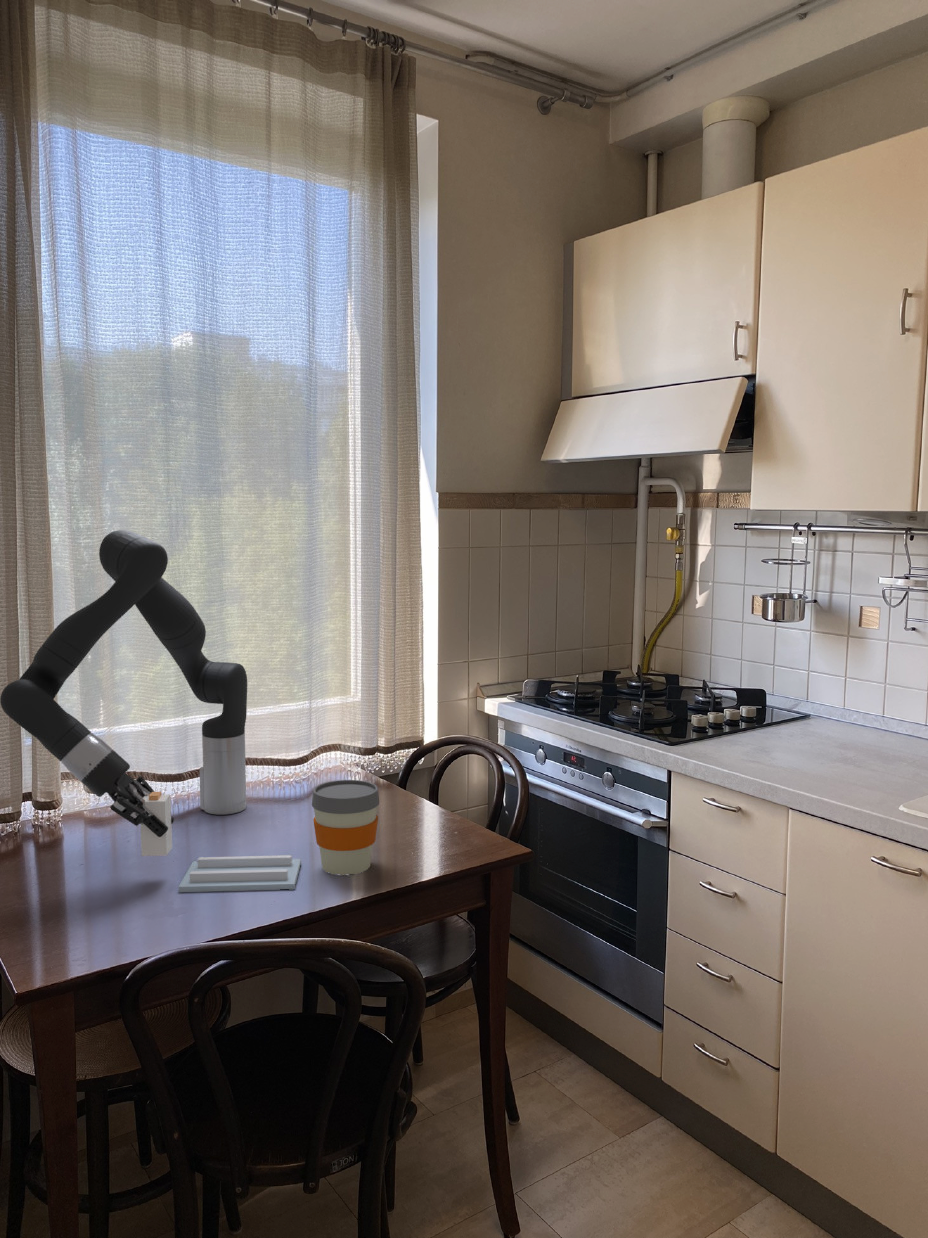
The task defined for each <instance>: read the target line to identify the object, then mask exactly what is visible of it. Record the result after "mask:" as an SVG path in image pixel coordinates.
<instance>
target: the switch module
mask: <svg viewBox="0 0 928 1238" xmlns="http://www.w3.org/2000/svg"><path fill="white" fill-rule="evenodd" d="M143 799H144V800H145V806H146V807H147V808H148V809H149V810H150V811H151V812H152V814H153V815H155V816H156V817H157V818H158V819H159V820H160V821H162V822H163V823H164V824H165V825H166V826H167V827H168V830H167V832H166V833H165V834H164V835H163V836H162V837H158V836H157V835H156V834H154V833H153V832H152V831H151V830H150V829H149V828H148V827H147V826H145V825H144V824H143V825H141V824H139V825H140V845H141V847H140V848H141V849H140V850H141V857H158V856H159V857H160V856H161V857H162V856H163V857H164V856H165V857H166V856H168V855H169V853H170V851H171V850H172V849H173V835H172V834H173V830H172V828H173V827H172V824H171V816H172V805H171V804H172V803H171V801H172V800H171V794H170V793H169V794H165V793H164V794H162V791H155V792H152V793H151V794H150V795H148V796H144V797H143ZM141 810H142V809H141ZM153 815H152V816H153Z"/></svg>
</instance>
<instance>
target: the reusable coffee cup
mask: <svg viewBox="0 0 928 1238" xmlns="http://www.w3.org/2000/svg"><path fill="white" fill-rule="evenodd" d="M311 801H312V802H311V806H312V808H313V810H314V811H313V812H314V817H313V819H312V821H313V826H314V827H313V829H314V834H315V840H316V841H315V842H316V844H317V845H318V847H319V853H320V860H321V861H320V862H321V868H322V870H323V871H324V870H325V871H324V872H325V873H327V872H329V873H331V874H330V875H333V874H340V875H339V876H341V875H346V874H355V875H357V874H356V873H359V874H361V873H360V872H362V873H364V872H363V871H365V870H367V869H368V868H369V867H371V861H372V851H373V845H374V844H375V842H376V839H377V838H376V837H377V829H378V822H379V816H378V815H377V811H378V806H379V805H380V795H379V787H378V785H376V784H375V783H372V782H370V781H366V780H358V779H339V780H333V781H332V780H330V781H327V782H322V783H320V784H318V785H316V786H315V787H313V790H312V799H311ZM369 869H370V868H369ZM369 869H368V870H369ZM368 870H367V871H368ZM365 872H366V871H365ZM329 873H328V874H329Z"/></svg>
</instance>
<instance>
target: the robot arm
mask: <svg viewBox="0 0 928 1238" xmlns="http://www.w3.org/2000/svg"><path fill="white" fill-rule="evenodd" d="M98 550H99V551H98V552H99V553H98V554H99V555H98V556H99V562H100V565H101V567H102V568H103V570H104V572H105V573H106V574H107V575H109V577H110V578H111V579H112V580H113V581H114V583H113V584H112V585H111V587H109V589H107V590H106V592H105V593H103V594H102V595H101V596H99V597H98V598H97V599H96V600H94V601H92V602H91V603H89V604H88V605H85V606H84V607H82V608H81V609H79V610H77V611H75V612H74V613H72V614H70V615H69V616H67V617H66V618H65V619H63V620H62V621H61V622H60V623H59V624H58V625H57V626H56V627H55V628H54V630H53V631H52V632H51V634H49V636H48V637H47V638H46V639H45V641H44V642H43V643H42V644H41V646H40V647H39V648H38V649H37V651H36V653H35V654H34V657H33V659H32V661H31V662H32V663H30V665H29V666H28V668H27V669H26V670H25V671H24V673H23V674H22V675H21V676H20V677H19V679H16V680H14V681H11V682H10V683H8V684H6V686H5V687H4V688H3V690H2V692H1V693H0V707H1V709H2V711H3V713H5V714H6V715H7V716H8V717H9V718H10V719H11V720H13V722H15V723H16V724H17V725H19V726H20V727H21V728H22V729H24V730H25V731H26V732H28V733H29V734H31V736H33V737H34V738H35V739H37V740H38V741H39V743H40V744H41V745H42V746H43V747H44V748H45V749H46V750H47V751H48V752H50V754H51V755H53V757H55V758H56V759H57V760H58V761H60V762H61V764H62V765H64V767H65V768H66V770H68V771H69V772H70V774H72V775H73V776H74V777H75V778H76V779H77V780H78V781H79V782H81V783H82V784H83V785H84V786H85V787H86V788H87V789H89V790H90V792H92V793H93V794H94V795H95V796H96V797H99V798H100V797H103V796H104V795H105V794H107V795H108V796H109V797H110V799H111V800H112V801H113V803H112V804H111V805H110V807H109V808H110V810H111V811H112V812H114V813H116V814H118V815H119V817H122V818H123V819H125V820H126V821H128V822H129V823H131V824H133V825H134V826H136V827H138V826H139V825H140V824H141V825H143V824H144V825H145V826H147V827H148V828H149V829H150V830H151V831H152V832H153V833H154V834H156V835H157V836H158V837H162V836H163V835H164V834H165V833H166V832H167V830H168V827H167V826H166V825H165V824H164V823H163V822H162V821H160V820H159V819H158V818H157V817H156V816H155V815H153V814H152V812H151V811H150V810H149V809H148V808H147V807H146V806H145V800H144V799H143V797H144V796H148V795H150V794H151V793H152V792H156V791H155V790H154V789H153V788H152V786H151V785H150V784H149V783H148V782H147V781H146V779H145V778H144V777H143V776H138V777H137V778H136V779H135V778H133V776H132V777H131V776H130V775H128V774H127V771H129V770H130V768H131V765H130V764H129V763H128V762H127V761H126V760H125V759H124V758H123V757H122V756H120V755H119V754H118V753H117V752H116V751H115V750H114V749H113V748H112V747H111V746H110V745H108V744H107V743H106V742H105V741H104V740H103V739H101V738H100V737H98V736H97V735H95V734H94V733H93V732H91V730H90V729H89V728H87V727H86V726H85V725H84V724H83V723H82V722H80V720H78V719H77V718H75V717H74V716H73V715H71V714H70V713H69V712H67V711H66V710H65V709H64V708H63V707H62V706H61V704H59V703H58V702H57V701H56V700H55V698H56V696H57V694H58V693H59V691H60V690H61V688H62V687H63V685H64V683H65V682H66V681H67V679H68V678H69V677H70V676H71V675H72V674H73V673H74V672H75V670H76V669H77V668H78V667H79V666H80V665H81V663H82V661H83V660H84V659H85V657H86V656H87V655H88V654H89V653H90V651H91V650H92V648H93V647H94V646H95V645H96V644H97V642H98V641H99V640H100V639H101V638H102V637H103V636H104V635H105V633H106V632H107V631H109V629H111V628H112V627H113V626H114V625H115V624H116V623H117V622H118V621H119V620H120V619H122V617H123V616H124V615H125V614H126V613H127V612H128V611H129V610H131V608H133V606H135V607H136V608H137V610H138V611H139V613H140V614H141V616H142V617H143V619H144V620H145V621H146V623H147V625H148V626H149V628H151V630H152V632H153V634H154V635H155V636H156V638H158V640H159V642H160V643H161V645H162V646H163V647H164V649H166V650H167V651H168V653H169V654H170V656H171V657H172V659H173V660H174V662H175V663H176V664H177V666H178V668H179V669H180V671H181V673H182V674H183V676H184V678H185V681H186V683H187V684H188V686H189V688H190V690H191V691H192V693H193V695H194V696H195V698H197V699H198V700H199V701H200V702H203V703H206V704H215V705H217V704H218V705H222V712H221V714H219V715H218V716H214V717H211V718H208V719H206V720H204V721H203V723H202V724H201V736H202V737H201V739H202V740H201V741H202V742H201V743H202V766H201V767H200V768H199V798H200V799H199V803H200V806H199V807H200V810H203V811H204V812H205V813H207V814H211V815H231V814H237V813H240V812H242V811H244V810H246V808H247V780H246V779H247V775H246V773H247V771H246V768H247V766H246V734H245V732H246V729H245V728H246V727H245V726H246V723H247V722H246V721H247V713H248V712H247V710H248V709H247V706H248V705H247V704H248V677H247V676H248V675H247V671H246V669H245V667H244V665H242V664H241V663H237V662H224V661H211V660H210V659H208V658H207V657H206V655H204V653H203V652H202V650H203V646H204V644H205V641H206V635H207V630H206V625H205V623H204V621H203V619H202V618H201V616H200V615H199V613H198V611H197V610H196V609H195V607H194V606H193V605H192V603H191V602H189V600H188V598H186V597H185V596H184V595H183V594H181V592H180V591H178V590H177V589H176V588H175V587H174V586H173V585H172V584H170V583H169V582H168V581H166V580H165V579H164V578H163V576H164V574H165V572H166V570H167V567H168V563H169V557H168V553H167V550H166V549H165V548H164V546H162V545H161V544H160V543H159V542H156V541H154V540H152V539H150V538H147V537H145V536H143V535H141V534H139V533H137V532H134V531H130V530H126V529H125V530H124V529H123V530H122V529H119V530H114V531H112V532H109V533H108V534H106V535H105V537H104V538H103V539H102V541H101V543H100V546H99V549H98ZM141 809H142V810H141ZM152 815H153V816H152ZM174 822H175V818H174V816H172V815H171V825H172V824H173V823H174Z"/></svg>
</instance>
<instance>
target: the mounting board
mask: <svg viewBox="0 0 928 1238" xmlns="http://www.w3.org/2000/svg"><path fill="white" fill-rule="evenodd" d="M292 857H293V856H292V855H288V854H287V855H249V856H247V855H244V856H243V855H242V856H241V855H240V856H210V857H209V856H207V857H206V856H203V857H201V856H199V857H198V858H197V861H196V860H195V861H194V860H193V861H192V863H191V865H190V866H189V868H188V869H187V871H186V874H185V875H184V877H183V878H182V880H181V882H180V883H179V886H178V893H203V892H212V893H213V892H240V891H241V892H242V891H243V892H245V891H246V892H247V891H248V892H249V891H278V890H279V891H281V890H280V889H289V890H295V889H294V888H296V885H295V884H297V881H298V878H299V872H300V870H299V869H301V866H300V865H302V859H301V858H292Z"/></svg>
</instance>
